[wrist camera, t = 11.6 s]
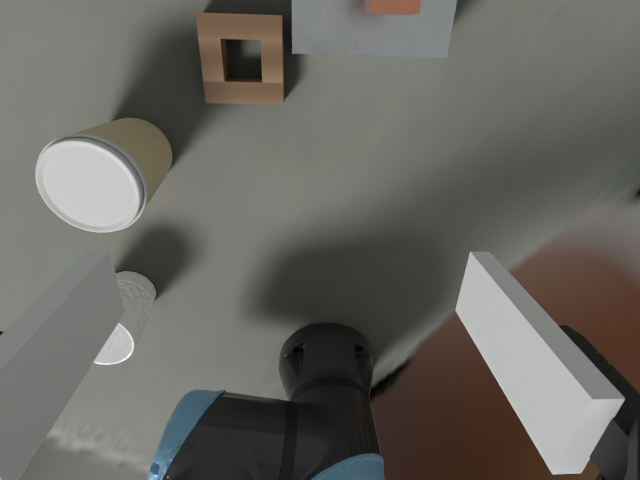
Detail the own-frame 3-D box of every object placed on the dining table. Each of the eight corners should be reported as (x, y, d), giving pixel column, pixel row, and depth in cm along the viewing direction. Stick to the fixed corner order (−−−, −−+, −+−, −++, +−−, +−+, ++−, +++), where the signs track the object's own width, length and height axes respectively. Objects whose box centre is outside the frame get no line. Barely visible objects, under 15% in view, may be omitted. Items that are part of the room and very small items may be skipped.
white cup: (170, 283, 53) (144, 333, 44) (147, 319, 56) (119, 373, 47) (115, 257, 51) (76, 304, 42) (94, 296, 54) (54, 348, 45)
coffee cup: (90, 171, 45) (26, 214, 34) (103, 94, 41) (35, 117, 30) (169, 199, 47) (132, 248, 37) (189, 130, 43) (153, 162, 33)
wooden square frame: (284, 99, 42) (283, 104, 39) (211, 98, 41) (205, 103, 39) (283, 16, 38) (281, 15, 35) (202, 13, 38) (195, 12, 35)
